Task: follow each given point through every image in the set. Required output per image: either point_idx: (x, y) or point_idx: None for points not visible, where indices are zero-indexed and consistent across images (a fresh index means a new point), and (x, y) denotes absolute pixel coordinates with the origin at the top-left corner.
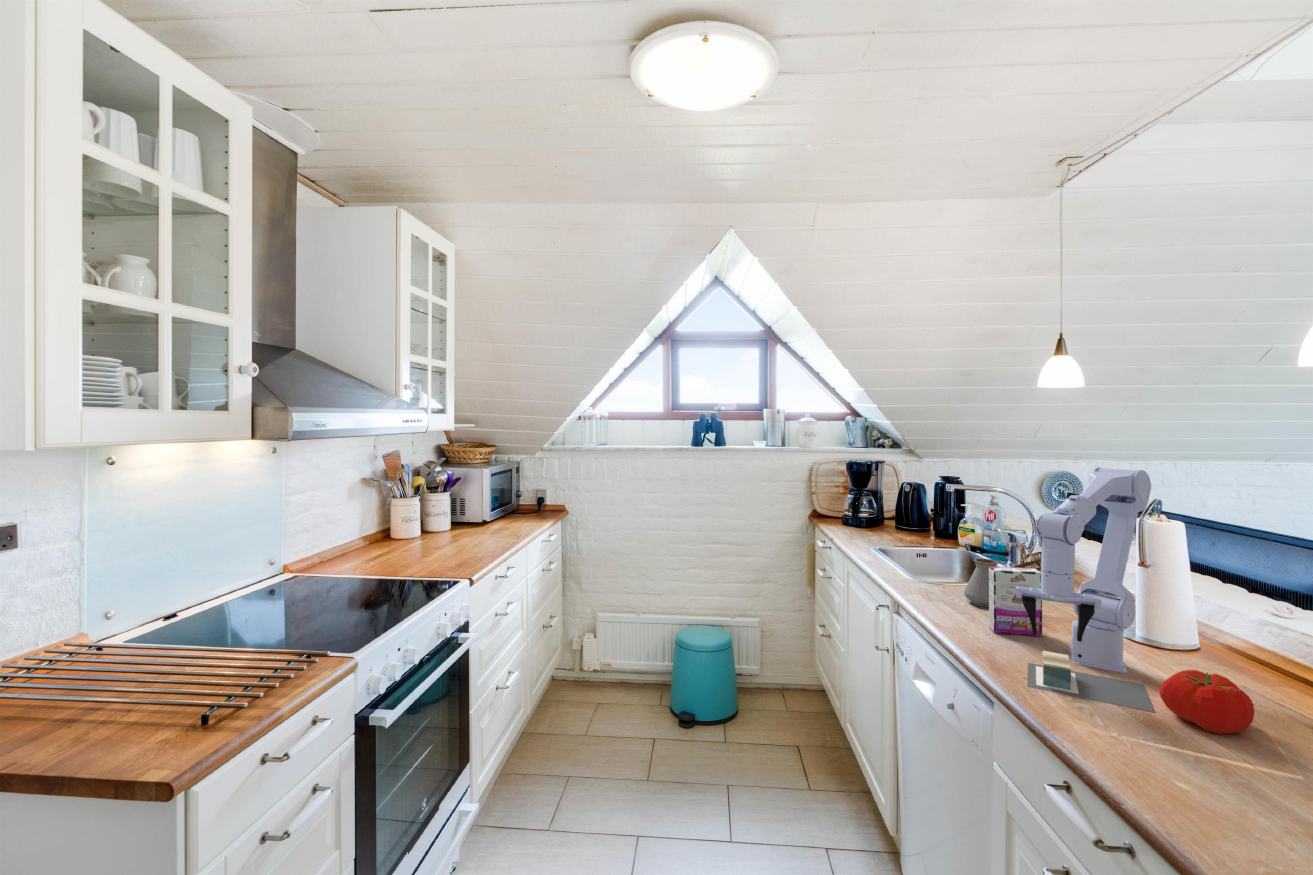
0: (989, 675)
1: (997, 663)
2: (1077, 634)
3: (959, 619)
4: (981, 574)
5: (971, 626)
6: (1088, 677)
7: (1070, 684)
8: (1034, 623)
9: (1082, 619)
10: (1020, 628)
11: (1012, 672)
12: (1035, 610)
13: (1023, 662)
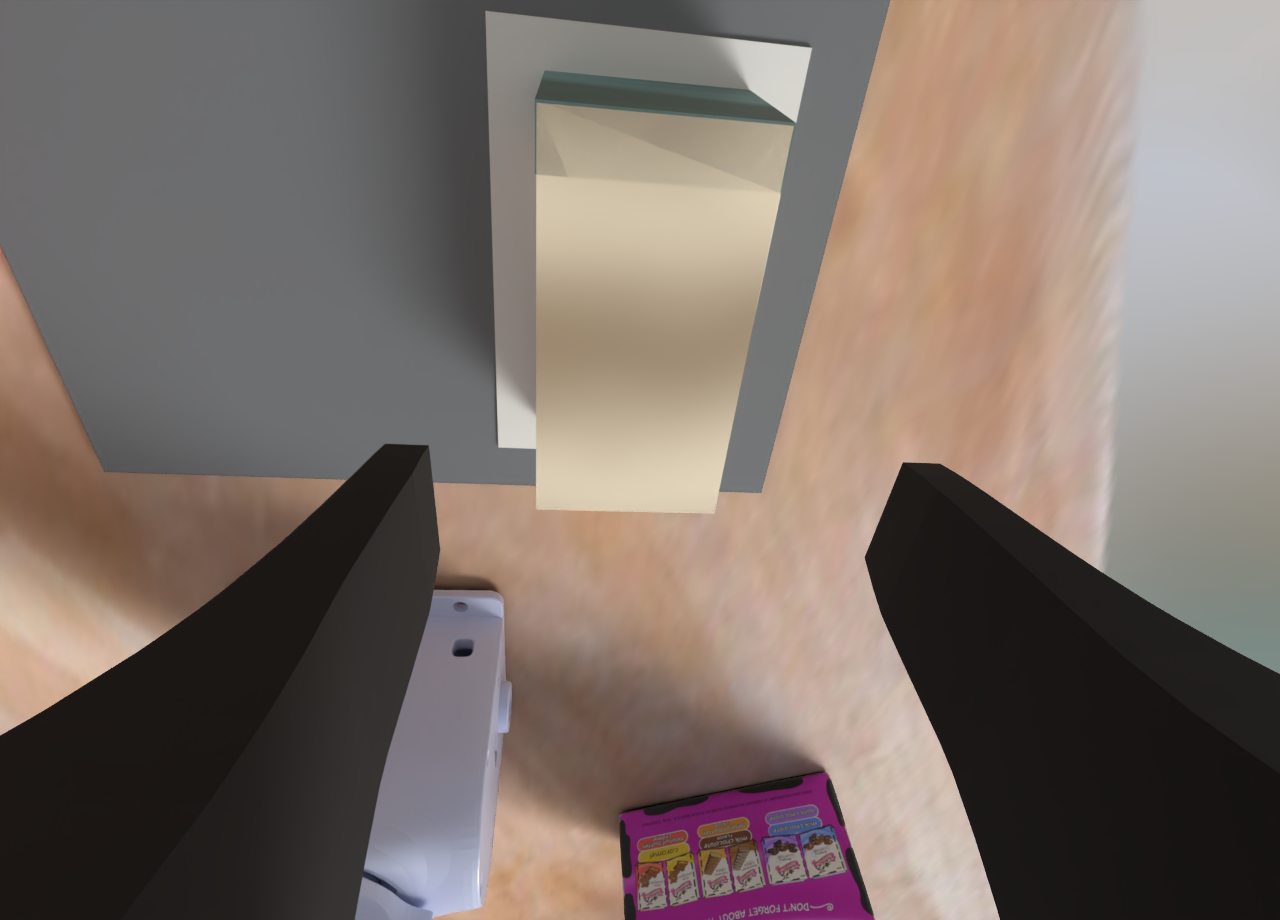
0: (1114, 140)
1: (951, 413)
2: (415, 534)
3: (936, 832)
4: None
5: (909, 794)
6: (419, 425)
7: (544, 75)
8: (1025, 546)
9: (197, 714)
10: (717, 827)
11: (901, 297)
12: (1250, 745)
13: (776, 501)
